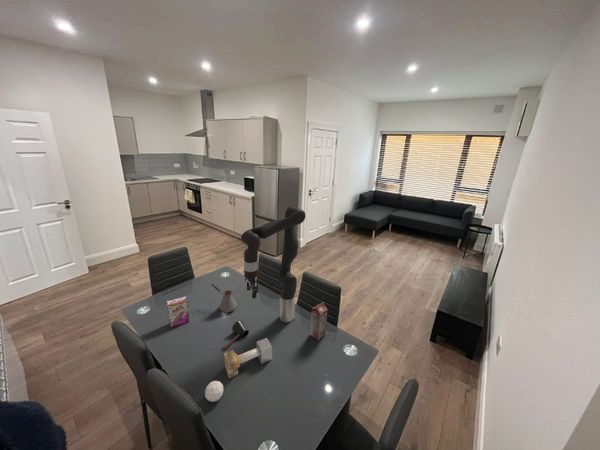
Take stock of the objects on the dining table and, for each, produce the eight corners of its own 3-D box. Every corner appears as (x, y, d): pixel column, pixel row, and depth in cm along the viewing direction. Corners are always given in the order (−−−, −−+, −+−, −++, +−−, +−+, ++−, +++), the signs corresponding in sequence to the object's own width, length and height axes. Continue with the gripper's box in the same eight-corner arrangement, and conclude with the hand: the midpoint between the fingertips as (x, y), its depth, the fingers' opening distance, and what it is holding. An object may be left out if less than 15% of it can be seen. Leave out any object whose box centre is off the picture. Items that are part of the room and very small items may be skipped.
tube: (263, 349, 133) (263, 339, 131) (268, 358, 127) (268, 348, 125) (229, 362, 124) (229, 352, 122) (233, 373, 118) (233, 362, 116)
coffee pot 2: (242, 325, 151) (250, 334, 147) (216, 344, 139) (225, 354, 134) (241, 317, 148) (250, 325, 143) (215, 336, 135) (224, 346, 131)
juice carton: (325, 334, 148) (328, 304, 141) (318, 340, 143) (321, 309, 136) (316, 329, 152) (319, 299, 145) (309, 334, 147) (312, 303, 141)
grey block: (266, 350, 135) (266, 337, 132) (272, 359, 129) (272, 346, 126) (256, 354, 132) (256, 341, 129) (261, 363, 126) (261, 350, 123)
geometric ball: (219, 401, 109) (227, 395, 105) (202, 406, 104) (209, 400, 100) (218, 382, 114) (225, 376, 110) (201, 386, 109) (208, 380, 105)
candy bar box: (170, 328, 147) (166, 305, 142) (169, 323, 151) (165, 301, 146) (189, 322, 153) (187, 299, 148) (188, 317, 157) (185, 295, 152)
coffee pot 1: (240, 307, 169) (239, 288, 164) (228, 316, 159) (227, 297, 155) (218, 297, 178) (217, 279, 174) (205, 305, 169) (204, 287, 164)
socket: (233, 362, 126) (233, 349, 123) (238, 374, 120) (237, 360, 117) (225, 366, 123) (224, 353, 121) (228, 378, 117) (228, 364, 115)
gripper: (262, 272, 125) (262, 298, 130) (253, 260, 136) (253, 285, 141) (248, 275, 121) (249, 302, 126) (240, 263, 133) (240, 289, 137)
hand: (251, 293), depth 134 cm, fingers open, 8 cm apart
